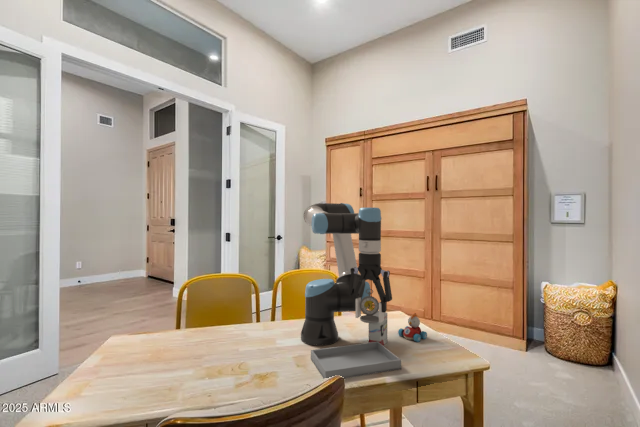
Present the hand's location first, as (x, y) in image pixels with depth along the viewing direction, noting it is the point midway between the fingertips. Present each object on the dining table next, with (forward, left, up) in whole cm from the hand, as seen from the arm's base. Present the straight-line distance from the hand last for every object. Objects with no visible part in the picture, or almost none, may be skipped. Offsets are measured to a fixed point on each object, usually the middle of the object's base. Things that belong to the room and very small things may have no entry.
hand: (369, 319), depth 110 cm
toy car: (+5, +30, -15) cm, 34 cm away
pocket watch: (0, 0, 0) cm, 1 cm away
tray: (-4, -4, -15) cm, 16 cm away
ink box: (-4, +16, -15) cm, 22 cm away
